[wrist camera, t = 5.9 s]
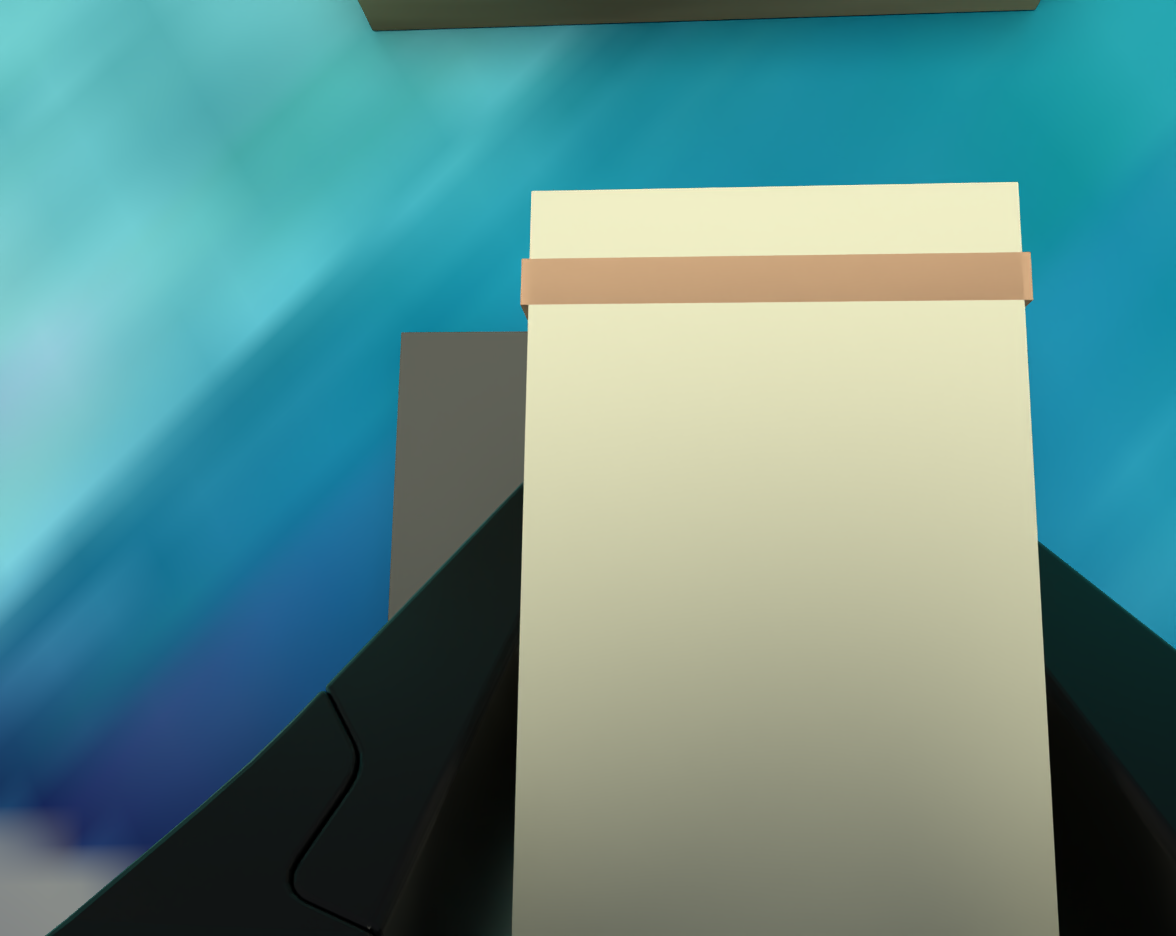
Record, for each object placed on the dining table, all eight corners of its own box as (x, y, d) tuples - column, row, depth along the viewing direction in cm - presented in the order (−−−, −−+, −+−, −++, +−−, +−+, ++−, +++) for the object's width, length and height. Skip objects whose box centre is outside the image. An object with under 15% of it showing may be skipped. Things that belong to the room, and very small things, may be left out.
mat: (1038, 986, 18) (1051, 998, 18) (381, 957, 19) (372, 967, 18) (1006, 337, 20) (1017, 327, 19) (408, 340, 21) (401, 332, 20)
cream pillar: (814, 855, 15) (1086, 1276, 5) (607, 848, 15) (495, 1235, 5) (807, 458, 16) (1026, 181, 6) (612, 458, 16) (525, 191, 6)
